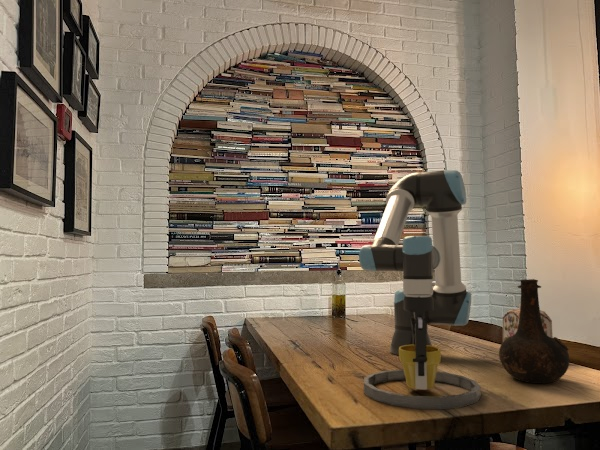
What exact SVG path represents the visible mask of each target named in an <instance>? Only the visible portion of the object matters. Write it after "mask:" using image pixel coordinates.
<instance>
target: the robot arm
mask: <svg viewBox="0 0 600 450" xmlns="http://www.w3.org/2000/svg"><path fill="white" fill-rule="evenodd" d="M466 203H467V193H466V187H465V181H464V177H463V175H462V174H461V172H460V171H459V170H457V169H454V170H453V169H443V170H433V171H421V172H412V173H410V174H407V175H405V176H403V177H402V178H400V179H399V180H397V181H396V182H395V183H394V184H393V185H392V186H391V188H390V189H389V191H388V192H387V195H386V197H385V204H386V205H385V209H384V211H383V214H382V217H381V219H380V222H379V223H378V227H377V230H376V233H375V234H374V235H375V236H374V238H373V241H372V243H371V244H365V245H363V246H361V248H360V249H359V254H358V260H359V266H360V267H361V269H362V270H363V271H365V272H366V271H369V272H402V275H403V278H402V289H399V290H396V291H395V292H394V300H393V305H394V306H393V307H394V309H393V310H394V311H393V313H394V332H393V335H392V338H391V343H390V345H389V352H390V354H393V355H396V356H399V347H401V346H404V345H415V352H416V359H413V362H415V384H416V389H415V390H418V389H427V362H426V361H427V354H426V345H431V346H433V344H432V341H431V340H432V339H431V337H430V334H429V332H428V325H438V326H440V325H441V326H451V327H452V326H453V327H456V326H459V327H460V326H466V325H467V324H468V323H469V320H470V313H471V307H472V306H471V305H472V293H471V292H470V291H467V286H466V285H465V284H464V283H463V282H462V271H461V270H462V269H461V268H462V267H461V256H460V237H459V236H460V235H459V221H458V220H459V219H458V217H459V216H458V214H459V213H460V212H461V211H462V210H463V208H462V207H463V206H464V205H466ZM414 207H425V209H426V213H427V214H429V215H430V216H431V230H432V237H431V236H429V235H409V236H405V237H403V239H402V244H399V243H400V241H401V237H402V234H403V231H404V228H405V224H406V223H407V219H408V216H409V213H410V212H411V211H412V210H413V209H414ZM433 272H434V275H433ZM433 277H434V278H435V282H433V281H434V278H433ZM419 355H423V356H419ZM427 390H428V389H427Z"/></svg>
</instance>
